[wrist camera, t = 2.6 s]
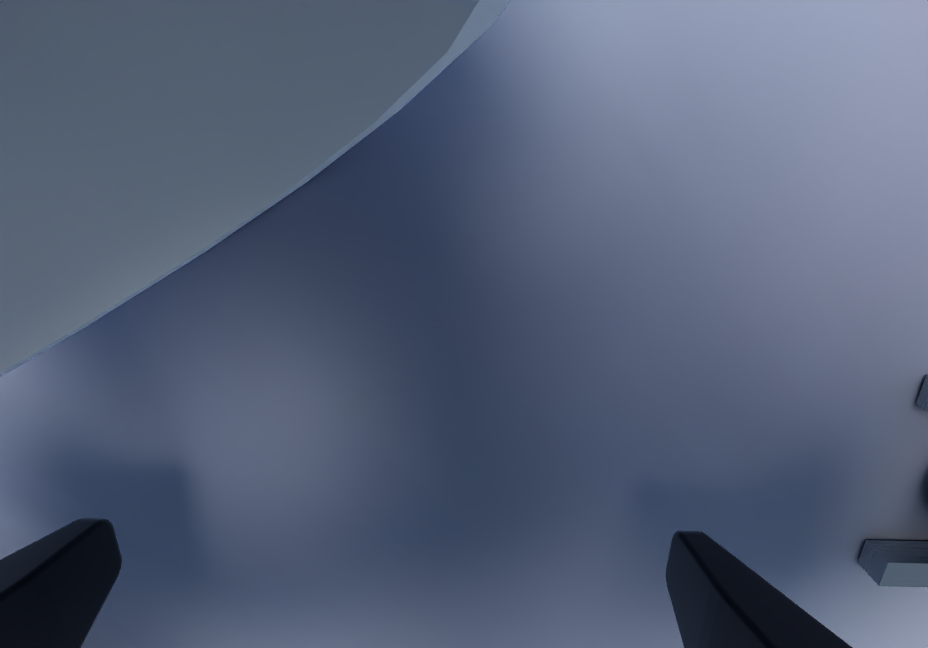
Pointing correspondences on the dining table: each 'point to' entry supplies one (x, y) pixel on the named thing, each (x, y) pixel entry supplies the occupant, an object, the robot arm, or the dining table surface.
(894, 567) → the rail
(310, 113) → the foam cup
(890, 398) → the dining table surface
